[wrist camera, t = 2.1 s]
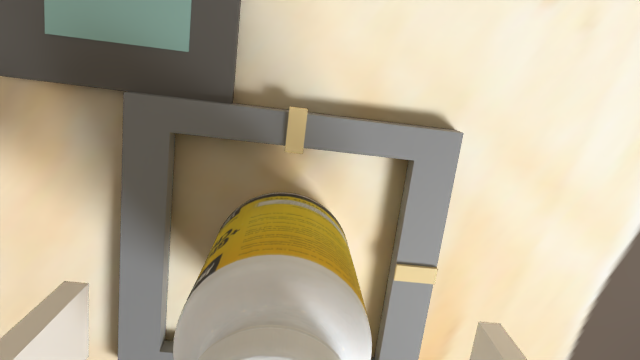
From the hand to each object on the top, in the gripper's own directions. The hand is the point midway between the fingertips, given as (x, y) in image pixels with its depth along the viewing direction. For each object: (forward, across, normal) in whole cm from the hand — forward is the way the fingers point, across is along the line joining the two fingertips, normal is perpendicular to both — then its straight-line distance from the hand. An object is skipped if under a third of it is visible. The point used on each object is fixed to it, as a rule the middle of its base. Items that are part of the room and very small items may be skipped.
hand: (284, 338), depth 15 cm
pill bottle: (+8, 0, 0) cm, 8 cm away
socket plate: (+8, 0, 0) cm, 8 cm away
